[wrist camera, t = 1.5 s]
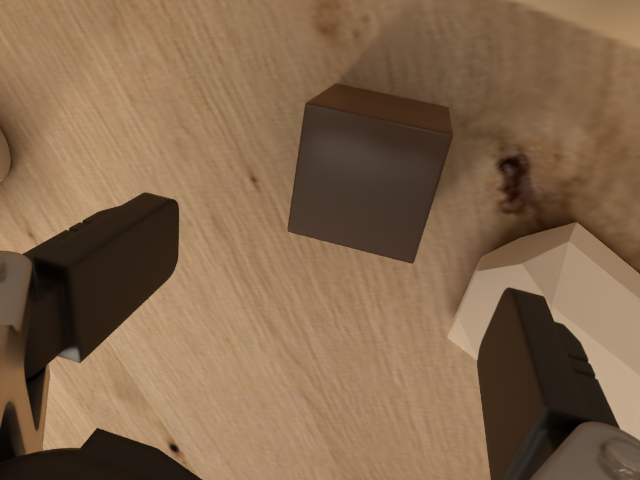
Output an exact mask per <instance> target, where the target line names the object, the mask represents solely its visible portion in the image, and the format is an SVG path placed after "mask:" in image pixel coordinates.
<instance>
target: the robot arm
mask: <svg viewBox="0 0 640 480" xmlns="http://www.w3.org/2000/svg"><path fill="white" fill-rule="evenodd" d="M178 246H179V206H178V203H177V202H176V200H174V199H170V198H166V197H162V196H158V195H154V194H151V193H142V194H141V195H139V196H137V197H135V198H134V199H132V200H130V201H128V202H127V203H125V204H123V205H122V206H118V207H114V208H110V209H106V210H103V211H99V212H97V213H95V214H94V215H92V216H90V217H88V218H87V219H85V220H83V222H82V223H80V222H79V223H78V224H76V225H74V226H72V227H70V228H69V231H68V230H65V231H63V232H61V233H60V234H58V235H56V236H54V237H52V238H51V239H49V240H47V241H45V242H43V243H42V244H40V245H38V246H36V247H35V248H33V249H31V250H29V251H27V252H26V253H24V254H19V253H15V252H10V251H0V480H202V479H200V478H199V477H198V476H196V475H195V474H193V473H192V472H190V471H189V470H188V469H186V468H185V467H183V466H182V465H180V464H179V463H178V462H176V461H175V460H173V459H172V458H170V457H169V456H167V455H166V454H165V453H163V452H162V451H160V450H159V449H157V448H154V447H152V446H149V445H146V444H143V443H140V442H137V441H134V440H131V439H128V438H125V437H122V436H119V435H116V434H113V433H110V432H107V431H104V430H101V429H99V428H97V429H96V430H95V431H94V432H93V434H92V435H91V436H90V437H89V438H88V440H87V441H86V442H85V443H84V444H83V446H82V447H81V448H60V449H51V450H44V451H43V438H44V428H45V418H46V408H47V398H48V388H49V379H50V370H49V364H48V363H49V362H51V361H52V360H53V359H54V358H55V357H56V356H59V357H62V358H65V359H68V360H72V361H75V362H78V363H81V362H82V361H83V360H84V359H85V358H86V357H87V356H88V355H89V354H90V353H91V352H92V351H93V350H94V349H96V348H97V347H98V346H99V345H100V344H101V343H102V342H103V341H104V340H105V339H106V338H107V337H108V336H109V335H110V334H111V333H112V332H113V331H114V330H115V329H116V328H118V327H119V326H120V325H121V324H122V323H123V322H124V321H125V320H126V319H127V318H128V317H129V316H130V315H131V314H132V313H133V312H134V311H135V310H136V309H137V308H138V307H140V306H141V305H142V304H143V303H144V302H145V301H146V300H147V299H148V298H149V297H150V296H151V295H152V294H153V293H154V292H155V291H156V290H157V289H158V288H159V287H160V286H162V285H163V284H164V283H165V282H166V281H167V280H168V279H169V278H170V276H171V275H172V273H173V272H174V270H175V267H176V264H177V260H178ZM588 361H589V359H588V357H587V355H586V353H585V351H584V348H583V346H582V344H581V342H580V341H579V340H578V339H577V338H576V337H575V336H574V335H573V333H572V332H571V331H570V330H569V329H568V328H567V327H566V326H565V325H564V324H561V323H557V322H554V319H553V317H552V314H551V312H550V309H549V307H548V304H547V302H546V299H545V297H544V296H541V295H537V294H533V293H530V292H526V291H522V290H518V289H514V288H510V287H508V288H506V289H505V290H504V292H503V294H502V296H501V298H500V300H499V302H498V304H497V307H496V309H495V311H494V314H493V316H492V318H491V320H490V323H489V325H488V327H487V330H486V332H485V334H484V337H483V339H482V341H481V344H480V348H479V352H478V360H477V368H478V377H479V385H480V393H481V401H482V410H483V418H484V426H485V434H486V443H487V451H488V459H489V467H490V476H491V480H640V441H639V440H638V439H637V438H635V437H633V436H632V435H630V434H629V433H627V432H625V431H623V430H621V429H620V427H619V425H618V423H617V421H616V419H615V416H614V414H613V412H612V410H611V408H610V406H609V403H608V401H607V399H606V397H605V395H604V392H603V390H602V388H601V386H600V384H599V381H598V379H595V373H594V370H593V368H592V366H591V364H590V363H588Z"/></svg>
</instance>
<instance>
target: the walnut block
mask: <svg viewBox="0 0 640 480" xmlns="http://www.w3.org/2000/svg"><path fill="white" fill-rule="evenodd" d="M452 138H453V133H452V127H451V120H450V113H449V108H448V107H444V106H439V105H434V104H430V103H425V102H420V101H415V100H411V99H406V98H401V97H396V96H392V95H387V94H382V93H377V92H373V91H368V90H363V89H358V88H353V87H349V86H344V85H339V84H334V85H333V86H331V87H330V88H328V89H327V90H325V91H323V92H322V93H320V94H319V95H317V96H316V97H314V98H313V99H311V100H309V101H308V102H306V104H305V110H304V117H303V124H302V131H301V138H300V145H299V152H298V159H297V166H296V173H295V180H294V187H293V194H292V201H291V208H290V215H289V222H288V232H291V233H295V234H299V235H303V236H307V237H311V238H315V239H319V240H322V241H326V242H330V243H334V244H338V245H342V246H346V247H350V248H353V249H357V250H361V251H365V252H369V253H373V254H377V255H381V256H385V257H388V258H392V259H396V260H400V261H404V262H408V263H413V262H414V260H415V257H416V254H417V251H418V247H419V244H420V241H421V238H422V235H423V231H424V228H425V225H426V222H427V218H428V215H429V212H430V209H431V205H432V202H433V199H434V196H435V193H436V189H437V186H438V183H439V180H440V176H441V173H442V170H443V167H444V163H445V160H446V157H447V154H448V151H449V147H450V144H451V141H452Z"/></svg>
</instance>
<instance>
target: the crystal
mask: <svg viewBox="0 0 640 480" xmlns="http://www.w3.org/2000/svg"><path fill="white" fill-rule="evenodd" d="M508 287H510V288H514V289H518V290H522V291H526V292H530V293H533V294H537V295H541V296H544V297H545V299H546V302H547V304H548V307H549V309H550V312H551V314H552V317H553V319H554V322H557V323H561V324H564V325H565V326H566V327H567V328H568V329H569V330H570V331H571V332H572V333H573V335H574V336H575V337H576V338H577V339H578V340H579V341H580V342H581V344H582V346H583V348H584V351H585V353H586V355H587V357H588V359H589V361H588V363H590V364H591V366H592V368H593V370H594V373H595V379H598V381H599V384H600V386H601V388H602V390H603V392H604V395H605V397H606V399H607V401H608V403H609V406H610V408H611V410H612V412H613V414H614V416H615V419H616V421H617V423H618V425H619V427H620V429H621V430H623V431H625V432H627V433H629V434H630V435H632V436H633V437H635V438H637V439H638V440H639V441H640V274H639V273H638V272H637V271H636V270H634V269H633V268H632V267H631V266H629V265H628V264H627V263H626V262H625V261H623V260H622V259H621V258H620V257H619V256H617V255H616V254H615V253H614V252H613V251H611V250H610V249H609V248H608V247H606V246H605V245H604V244H603V243H602V242H600V241H599V240H598V239H597V238H596V237H594V236H593V235H592V234H591V233H590V232H588V231H587V230H586V229H585V228H584V227H582V226H581V225H580V224H579V223H577V222H575V223H571V224H568V225H564V226H560V227H557V228H553V229H549V230H546V231H542V232H538V233H535V234H531V235H527V236H524V237H520V238H518V239H516V240H514V241H512V242H510V243H508V244H506V245H504V246H502V247H500V248H498V249H496V250H494V251H492V252H490V253H488V254H486V255H484V256H482V257H481V258H480V260H479V262H478V265H477V267H476V269H475V271H474V273H473V275H472V278H471V280H470V282H469V284H468V287H467V289H466V291H465V294H464V296H463V298H462V301H461V303H460V305H459V308H458V310H457V312H456V315H455V317H454V319H453V322H452V324H451V327H450V331H449V334H448V337H447V338H448V339H450V340H451V341H452V342H454V343H455V344H456V345H457V346H459V347H460V348H461V349H463V350H464V351H465V352H467V353H468V354H469V355H471V356H472V357H473V358H474V359H476V360H478V352H479V348H480V344H481V341H482V339H483V337H484V334H485V332H486V330H487V327H488V325H489V323H490V320H491V318H492V316H493V314H494V311H495V309H496V307H497V304H498V302H499V300H500V298H501V296H502V294H503V292H504V290H505V289H506V288H508Z"/></svg>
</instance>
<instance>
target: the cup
mask: <svg viewBox="0 0 640 480" xmlns="http://www.w3.org/2000/svg"><path fill="white" fill-rule="evenodd" d="M10 165H11V156H10V150H9V146H8V143H7V141H6V138H5V136H4V134H3V132H2V131H1V129H0V182H2V181H3V180H4V179H5V178H6V176H7V175H8V173H9V170H10Z"/></svg>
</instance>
